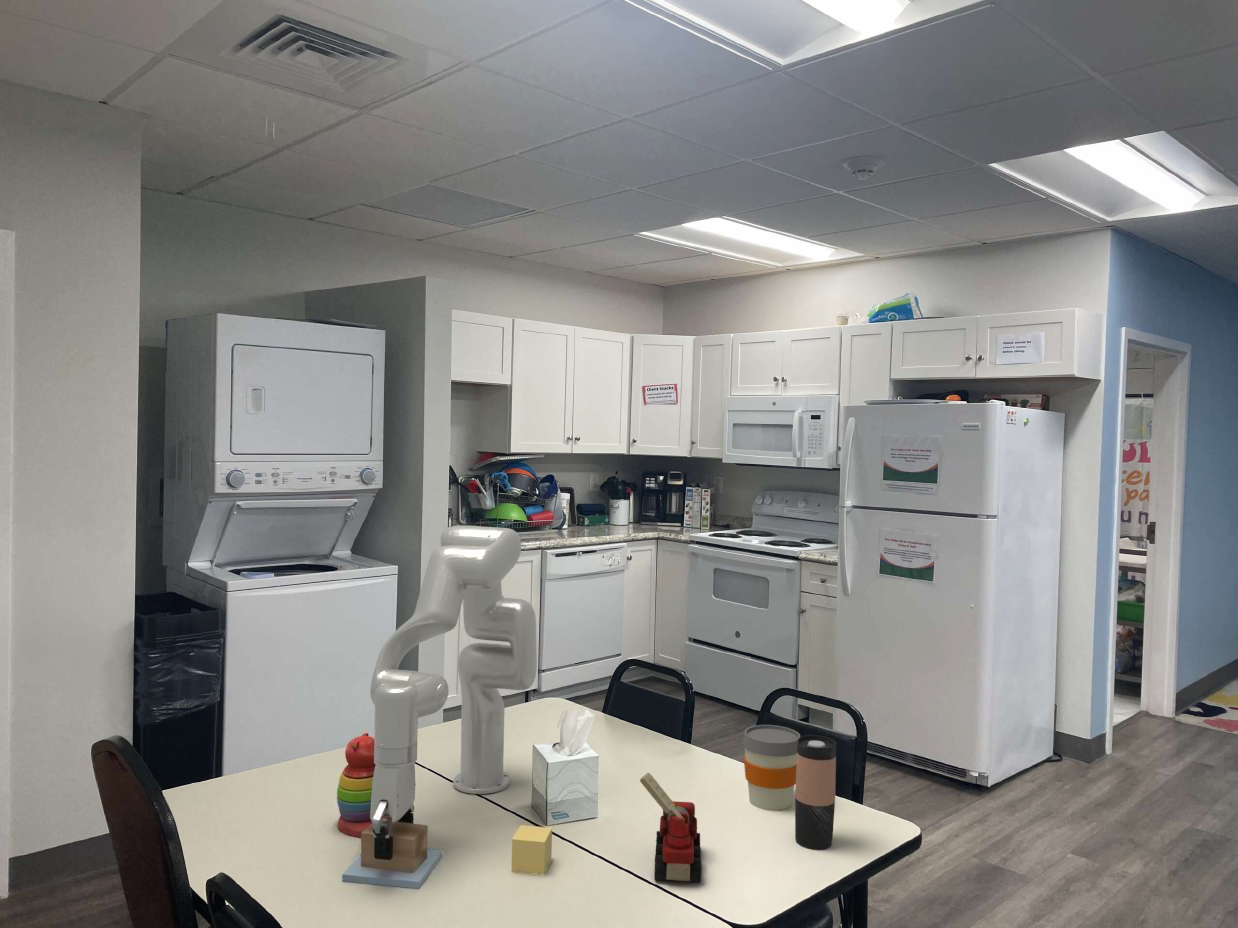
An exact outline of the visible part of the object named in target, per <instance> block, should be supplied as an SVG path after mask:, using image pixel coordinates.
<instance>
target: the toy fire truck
mask: <svg viewBox="0 0 1238 928" xmlns="http://www.w3.org/2000/svg"><path fill="white" fill-rule="evenodd" d="M639 782H640V783H641V784H642V785H643V787H644V788H645V789H646V791H647V792H648V793H649V794H650V796H651V797H652V798H653V799H654V801H655V802H656V803H657V804H658V805H659V806H660V807H661V809H662V815H661V816H660V820H659V830H656V836H655V837H656V839H655V842H656V843H655V844H656V845H655V855H654V870H653V871H654V873H653V875H654V880H655V881H666V880H667V881H679V882H680V881H681V882H693V883H695V882H696V883H697V882H700V883H701V882H702V857H701V856H702V848H701V833H700V832H698V819H697V817H696V816H695V815H696V806H695V803H693V802H689V801H675V800H672V798H670V796H669V795H668V794H667V793H666V791H665V790H664V789H663V788H662V786H661V785H660V784H659V783H658V781H657V780H656V779H655V777H654V776H653V775H652V774H651V773H650V772H647V773H645V774H644V775H643V776H641V778H640V779H639Z"/></svg>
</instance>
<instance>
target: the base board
mask: <svg viewBox="0 0 1238 928" xmlns="http://www.w3.org/2000/svg"><path fill="white" fill-rule="evenodd" d="M443 851H444V850H443V849H441V850H440V849H433V848H432V849H430V848H427V859H426V860H425V861H424V862H423V863H422V864H421V865H420V866H419V867H418V868H417V870H416V871H415V872H414V873H407V872H400V871H392V870H385V869H377V868H370V867H362V866H361V854H360V855H359V856H358V857H357V858H356V859H355V860H354V861H353V862H352V864H350V866H349V867H348V868H347V869H346V870H345V871H344V872H343V873H342V875H341V876H342V877H341V878H342V879H341V881H342V882H347V883H355V884H356V883H359V884H366V885H367V884H368V885H379V886H385V887H387V886H388V887H396V888H397V887H398V888H408V889H415V890H416V889H418V890H419V889H420V888H421V887H422V885H424V883H425V881H426V880H427V879H428V877H429V876H430V874H431V873H432V872H433V871H434V869H435V868H436V866H437V865H439V863H440V861H441V859H442V858H443Z"/></svg>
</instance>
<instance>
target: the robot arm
mask: <svg viewBox="0 0 1238 928" xmlns="http://www.w3.org/2000/svg"><path fill="white" fill-rule="evenodd" d="M521 551H522V541H521V538H520V535H519V534H518V532H517V531H516V530H514V529H512V528H508V527H497V526H482V525H480V526H479V525H453V526H448V527H446V528H445V529H443V531H442V532H441V535H440V546H439V547H437V548H435V549H434V550H433V551H432V552H431V554H430V556H429V559H428V562H427V567H426V569H425V573H424V577H423V581H422V585H421V588H420V591H419V595H418V599H417V602H416V606H415V609H414V613H413V614H412V616H411V617H410V618H408V620H407V621H406V622H404V623H403V624H402V625H401V626H399V627H398V628H397V629H396V630H395V631H394V632H393V633H392V634H391V635H390V637H389V638H388V639H387V641H386V642H385V643H384V644H383V645H382V648H381V650H380V652H379V654H378V657H377V660H376V664H375V668H374V670H373V674H372V677H371V683H370V692H369V693H370V700H371V702H372V704H373V705H374V735H373V736H374V737H373V738H374V763H375V764H376V766H375V770H374V776H373V784H372V796H371V812H370V818H371V821H372V825H373V833H374V858H375V859H383V860H391V859H392V858H393V836H391V833H392V829H393V825H394V823H395V822H404V823H413V824H414V818H415V817H414V812H415V805H414V802H415V799H416V767H415V765H416V764H415V763H416V762H417V760H418V735H419V734H418V732H419V731H418V725H419V722H418V721H419V718H422V717H425V716H430V715H433V714H436V713H437V712H438V711H440V710H441V709H442V708H443V707H444V705H445V704H446V702H447V701H448V697H449V691H450V690H449V685H448V682H447V679H446V678H444V677H443V675H440V674H437V673H434V672H426V671H425V672H424V671H418V670H405V669H399V666H400V664H401V662H402V660H403V658H404V657H405V656H406V654H407V653H408V652H409V651H411V650H412V649H413V648H415V647H416V646H417V645H419V644H421V643H423V642H426V641H428V640H429V639H432V638H435V637H437V636H441V635H442V634H445V633H448V632H451V631H452V630H454V629H455V627H457V624H458V620H459V616H460V612H461V607H462V609H463V610H462V613H463V626H464V632H465V633H466V635H468V637H470V638H472V639H476V640H482V641H492V642H493V641H494V642H504V643H509V645H508V644H498V643H488V642H487V643H486V642H485V643H484V642H476V643H470V644H468V645H467V646H465V647H463V648H462V650H461V651H460V652H459V656H458V660H457V670H458V677H459V683H460V690H461V691H460V692H461V722H460V723H461V724H460V726H461V727H460V729H461V730H460V731H461V732H460V770H459V771H460V773H458V774H456V775H455V776H454V777H453V780H452V782H453V783H452V784H453V787H454V788H455V789H456V790H457V791H460V792H462V793H466V794H471V795H486V794H487V795H488V794H493V793H497V792H500V791H503V790H505V789H506V788H507V787H509V785H510V783H511V777H510V775H509V774H508V773H507V772H505V771H504V757H505V756H504V751H505V749H504V747H505V746H504V745H505V710H506V709H505V704H504V699H503V698H502V695H501V694H500V692H499V690H501V689H502V690H509V691H511V690H512V691H525V690H528V689H531V687H532V686H533V685H534V682H535V681H536V677H537V669H538V668H537V667H538V662H537V661H538V660H537V658H538V657H537V655H538V654H537V650H538V649H537V619H536V613H535V609H534V606H533V605H532V604H531V603H530V602H529V601H527V600H526V599H523V598H515V597H514V598H513V597H505V596H503V593H502V590H503V589H502V581H503V579H504V578H505V577H506V576H507V575H508V574H509V572H510V571H511V570H512V569H513V568H514V567H515V565H516V564H517V563H518V560H519V559H520V556H521ZM498 689H499V690H498ZM384 816H389V817H391V819H388V818H384ZM383 823H385V824H388V828H387V830H386V828H385V827H384V826H382V825H383Z"/></svg>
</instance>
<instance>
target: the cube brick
mask: <svg viewBox="0 0 1238 928" xmlns="http://www.w3.org/2000/svg"><path fill="white" fill-rule="evenodd" d="M518 827H519V828H517V830H516V831H515V834H514V835H513V837H512V839H511V872H513V873H520V872H522V873H521V874H530V873H532V874H531V875H534V874H533V873H537V874H536V875H540V874H544V873H545V874H546V872H545V871H547V870H548V868H547V867H549V866H550V863H551V861H552V855H553V854H552V850H553V848H552V846H553V844H552V842H553V838H552V837H553V827H545V826H534V825H524V824H521V825H520V826H518ZM546 869H547V870H546ZM545 874H544V875H545Z"/></svg>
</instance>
